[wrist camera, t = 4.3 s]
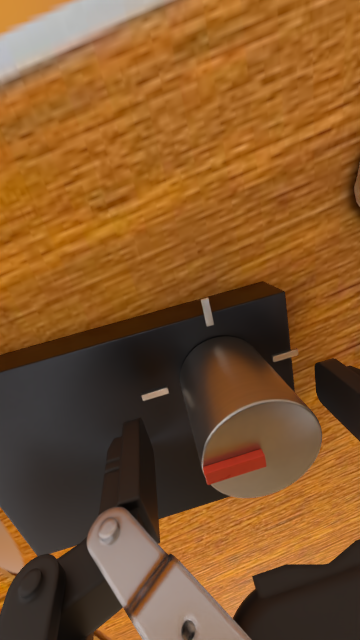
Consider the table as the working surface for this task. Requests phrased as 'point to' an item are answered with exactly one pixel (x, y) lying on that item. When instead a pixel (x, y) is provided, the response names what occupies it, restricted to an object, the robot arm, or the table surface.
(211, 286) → the table surface
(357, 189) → the pastry
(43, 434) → the hob
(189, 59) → the table surface
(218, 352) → the knob
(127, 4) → the table surface
